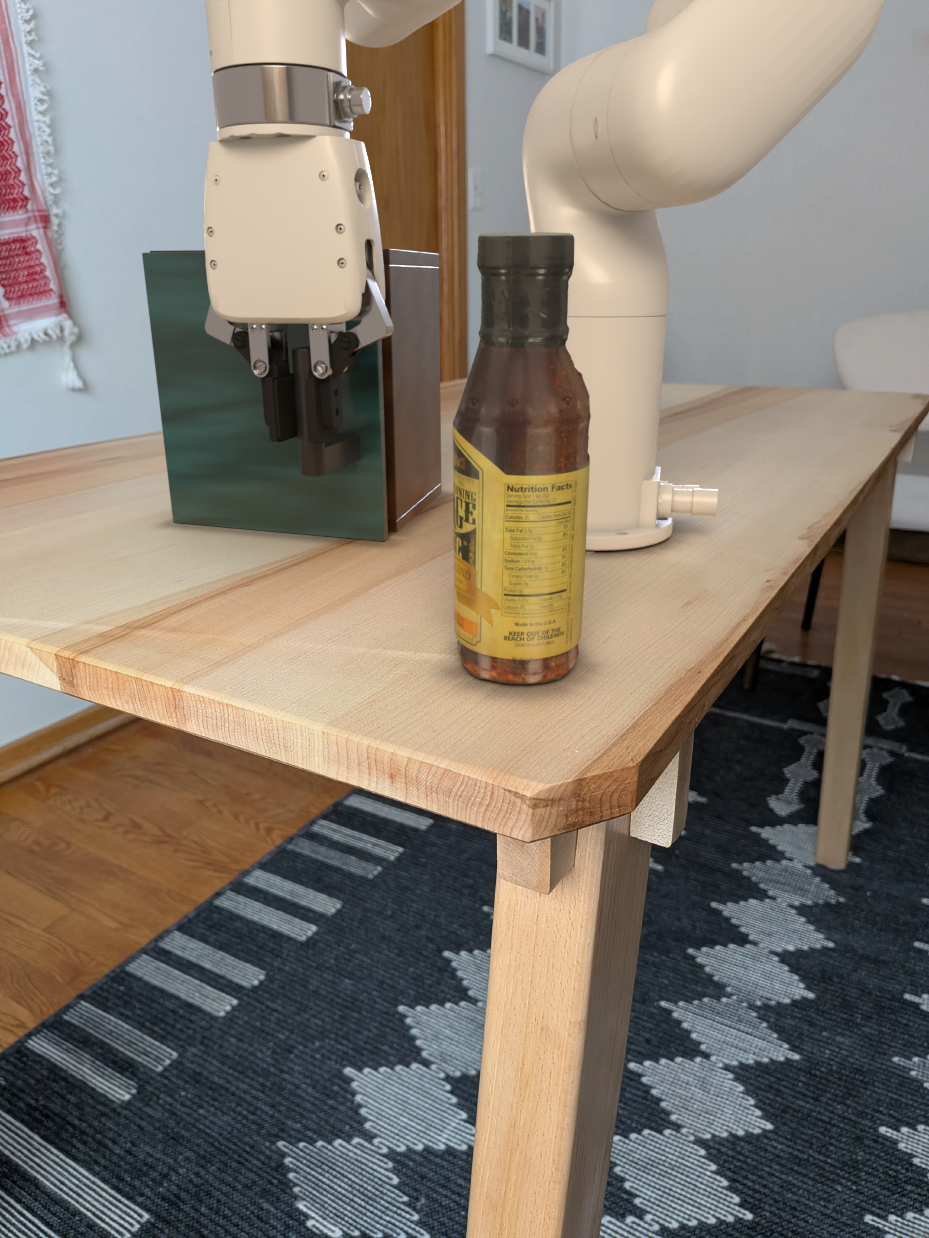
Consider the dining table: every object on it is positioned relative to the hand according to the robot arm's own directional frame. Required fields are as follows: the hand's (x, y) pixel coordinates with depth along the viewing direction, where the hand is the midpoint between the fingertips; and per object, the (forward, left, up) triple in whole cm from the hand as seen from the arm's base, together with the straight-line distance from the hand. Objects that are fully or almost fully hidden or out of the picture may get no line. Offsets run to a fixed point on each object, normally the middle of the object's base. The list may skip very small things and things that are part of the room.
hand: (304, 437), depth 58 cm
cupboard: (+6, -16, -9) cm, 19 cm away
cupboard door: (+6, -4, -8) cm, 11 cm away
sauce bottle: (-16, +14, -9) cm, 23 cm away
